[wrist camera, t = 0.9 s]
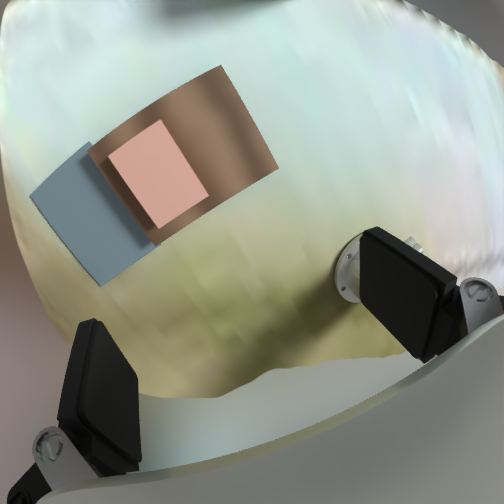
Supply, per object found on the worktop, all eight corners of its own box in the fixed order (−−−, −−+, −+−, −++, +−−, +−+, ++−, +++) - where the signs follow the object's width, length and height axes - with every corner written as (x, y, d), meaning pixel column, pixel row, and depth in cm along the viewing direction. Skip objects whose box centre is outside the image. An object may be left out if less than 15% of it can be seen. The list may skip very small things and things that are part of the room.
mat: (89, 141, 27) (88, 141, 27) (161, 243, 34) (161, 244, 34) (31, 194, 27) (29, 195, 27) (101, 285, 34) (101, 286, 34)
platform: (216, 69, 28) (220, 64, 25) (270, 164, 34) (279, 168, 31) (94, 148, 27) (86, 150, 25) (156, 236, 34) (155, 246, 31)
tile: (160, 119, 26) (160, 119, 24) (206, 191, 30) (208, 195, 28) (111, 154, 26) (107, 156, 24) (159, 222, 30) (158, 228, 28)
